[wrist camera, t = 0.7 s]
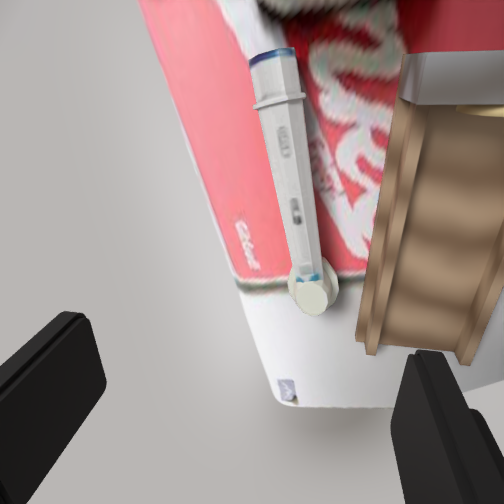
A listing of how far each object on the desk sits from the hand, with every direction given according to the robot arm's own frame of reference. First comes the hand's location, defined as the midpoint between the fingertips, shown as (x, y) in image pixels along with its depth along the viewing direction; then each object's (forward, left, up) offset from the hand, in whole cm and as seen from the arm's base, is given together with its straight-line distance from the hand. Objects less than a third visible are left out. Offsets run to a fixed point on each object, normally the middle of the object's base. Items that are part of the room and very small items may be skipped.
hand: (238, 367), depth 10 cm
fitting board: (+7, +15, -26) cm, 31 cm away
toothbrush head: (+4, +1, -27) cm, 27 cm away
